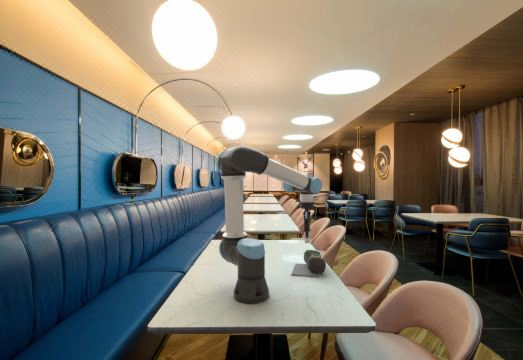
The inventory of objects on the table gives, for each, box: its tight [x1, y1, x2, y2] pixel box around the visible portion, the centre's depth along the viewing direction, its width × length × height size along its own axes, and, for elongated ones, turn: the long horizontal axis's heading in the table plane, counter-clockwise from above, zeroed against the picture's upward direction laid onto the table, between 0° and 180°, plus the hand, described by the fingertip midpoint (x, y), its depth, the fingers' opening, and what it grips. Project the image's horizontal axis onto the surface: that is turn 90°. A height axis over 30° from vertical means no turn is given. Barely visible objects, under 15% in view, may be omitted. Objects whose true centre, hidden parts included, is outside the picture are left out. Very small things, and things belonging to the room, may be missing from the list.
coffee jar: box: [303, 249, 327, 274], centre depth 146 cm, size 10×8×19 cm
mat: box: [290, 263, 320, 278], centre depth 145 cm, size 18×14×1 cm
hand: (307, 242), depth 152 cm, fingers closed
